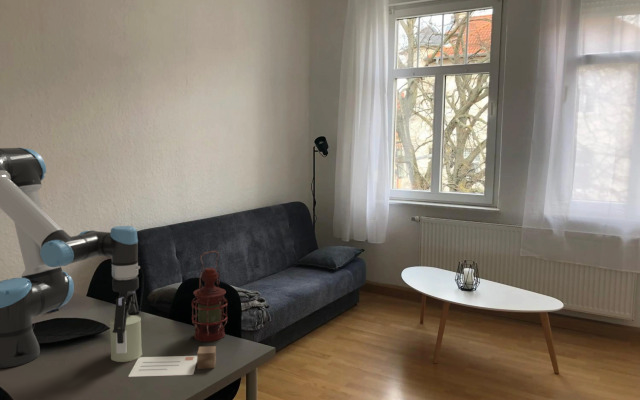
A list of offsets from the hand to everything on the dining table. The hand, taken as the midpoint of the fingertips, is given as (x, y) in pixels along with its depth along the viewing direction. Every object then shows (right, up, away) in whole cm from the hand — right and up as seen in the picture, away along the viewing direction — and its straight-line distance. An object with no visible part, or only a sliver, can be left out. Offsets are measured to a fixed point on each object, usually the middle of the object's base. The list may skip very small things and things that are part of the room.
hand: (127, 343), depth 155 cm
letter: (+13, -5, -6) cm, 15 cm away
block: (+26, -5, -4) cm, 26 cm away
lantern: (+21, -3, +18) cm, 28 cm away
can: (0, -4, +1) cm, 4 cm away
